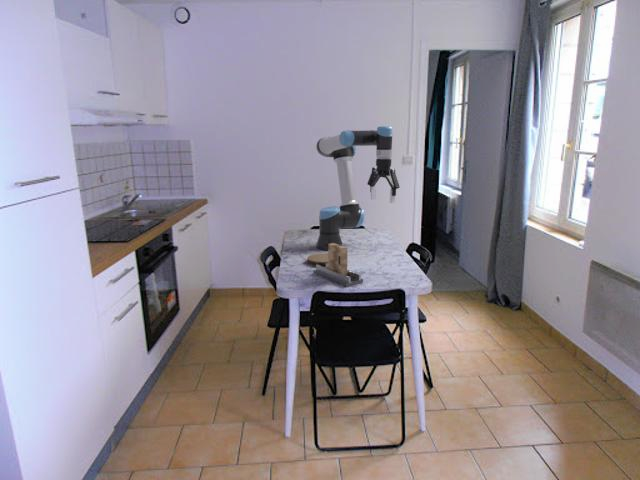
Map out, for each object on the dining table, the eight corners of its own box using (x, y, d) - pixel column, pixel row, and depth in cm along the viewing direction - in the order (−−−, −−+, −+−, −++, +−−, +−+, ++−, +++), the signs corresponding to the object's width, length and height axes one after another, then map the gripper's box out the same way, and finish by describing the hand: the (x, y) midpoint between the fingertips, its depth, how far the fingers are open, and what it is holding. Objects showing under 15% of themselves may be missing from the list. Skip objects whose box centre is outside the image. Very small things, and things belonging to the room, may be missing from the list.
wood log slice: (337, 258, 240) (337, 253, 240) (338, 267, 225) (338, 261, 224) (307, 258, 240) (307, 253, 240) (307, 267, 225) (307, 262, 224)
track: (313, 273, 214) (313, 265, 213) (329, 269, 220) (329, 261, 219) (346, 287, 196) (346, 278, 195) (363, 282, 202) (363, 274, 201)
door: (327, 272, 211) (327, 244, 207) (333, 271, 213) (333, 242, 209) (341, 278, 203) (341, 248, 199) (347, 276, 205) (347, 247, 201)
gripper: (361, 157, 230) (360, 198, 235) (397, 159, 211) (395, 204, 216) (371, 156, 235) (370, 197, 240) (407, 159, 215) (406, 203, 221)
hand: (382, 200), depth 228 cm, fingers open, 13 cm apart
